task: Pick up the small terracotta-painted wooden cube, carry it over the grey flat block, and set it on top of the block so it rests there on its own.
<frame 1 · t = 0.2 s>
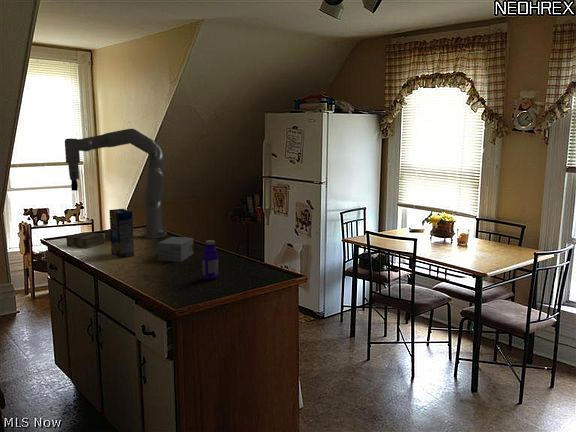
hand: (74, 189, 304), 31 cm above the table, tool pointing down, fingers open, 9 cm apart
terracotta cube: (112, 239, 314), on the table
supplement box: (176, 257, 274), on the table
bottle: (210, 279, 236), on the table
juice carton: (122, 255, 277), on the table
grey flat block: (85, 245, 299), on the table
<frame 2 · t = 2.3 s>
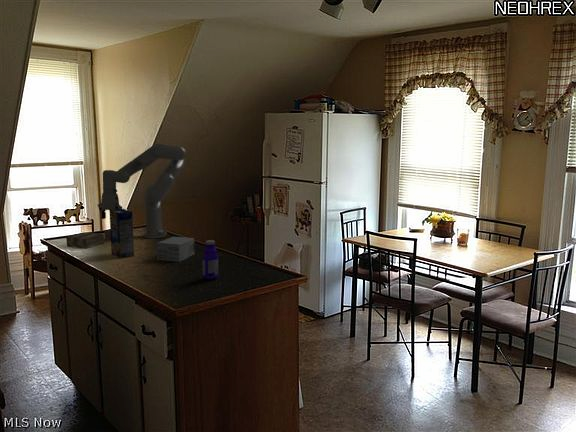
hand: (110, 219, 312), 12 cm above the table, tool pointing down, fingers open, 9 cm apart
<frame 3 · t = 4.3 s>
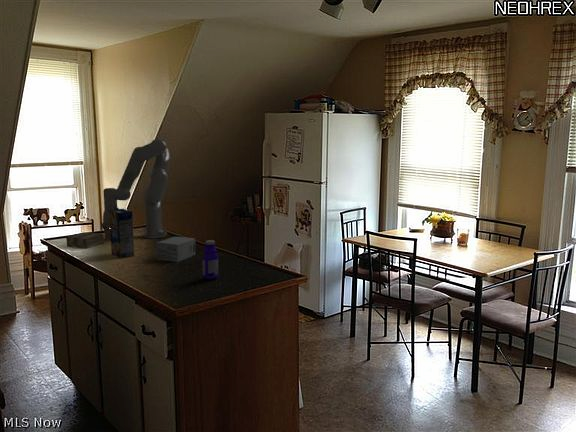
hand: (112, 238, 314), 1 cm above the table, tool pointing down, fingers closed on terracotta cube, 6 cm apart
terracotta cube: (112, 239, 314), on the table, touching gripper
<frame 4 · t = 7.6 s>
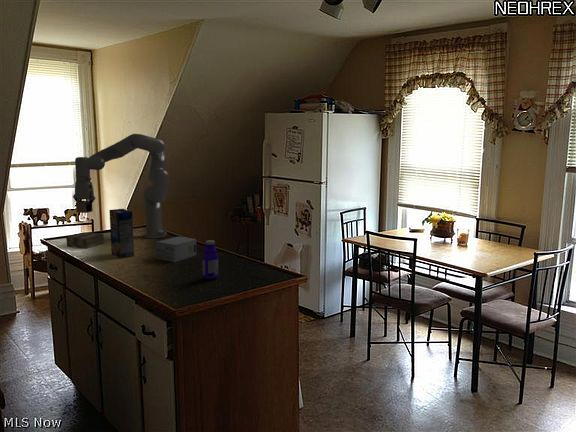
hand: (84, 210, 297), 20 cm above the table, tool pointing down, fingers closed on terracotta cube, 6 cm apart
terracotta cube: (84, 211, 297), point 19 cm above the table, touching gripper
when the fingers open (8 cm above the table, at t = 11.1 s): terracotta cube drops 1 cm, point 6 cm above the table.
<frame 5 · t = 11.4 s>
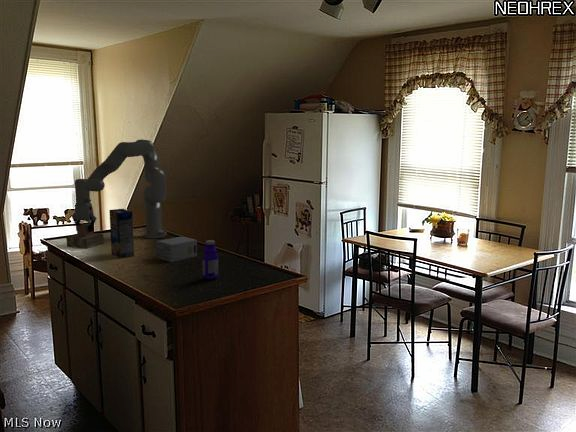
hand: (84, 230, 298), 8 cm above the table, tool pointing down, fingers open, 8 cm apart
terracotta cube: (85, 235, 298), point 6 cm above the table
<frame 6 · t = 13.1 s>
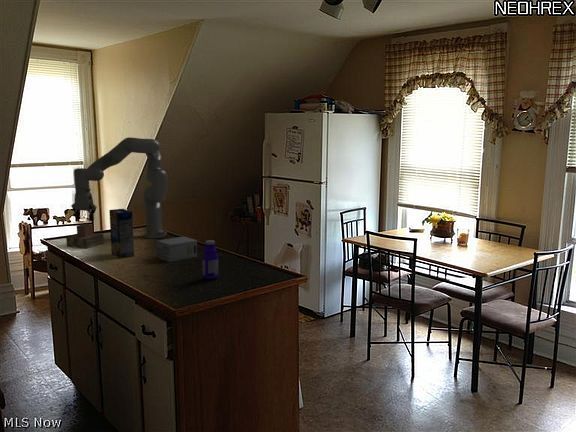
hand: (84, 220, 297), 14 cm above the table, tool pointing down, fingers open, 9 cm apart
terracotta cube: (85, 235, 298), point 6 cm above the table, touching grey flat block
grey flat block: (85, 245, 299), on the table, touching terracotta cube
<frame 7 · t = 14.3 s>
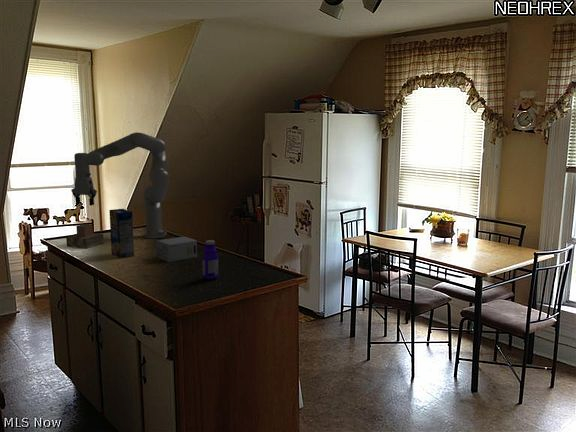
hand: (85, 204, 298), 23 cm above the table, tool pointing down, fingers open, 9 cm apart
terracotta cube: (84, 235, 298), point 6 cm above the table
grey flat block: (85, 245, 299), on the table
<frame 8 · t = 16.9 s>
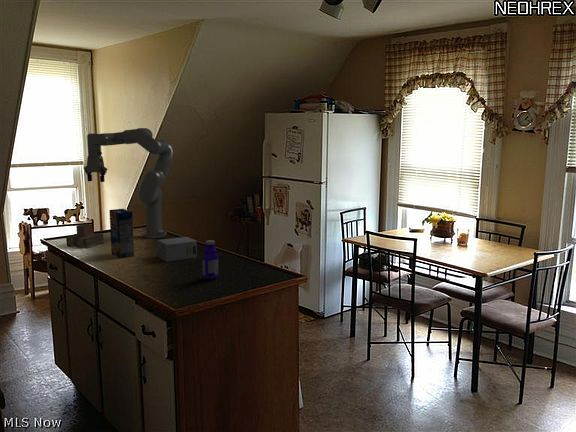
hand: (96, 181, 323), 33 cm above the table, tool pointing down, fingers open, 9 cm apart
at the end: terracotta cube inside the target area on the grey flat block (0.3 cm from its centre), point 6.0 cm above the grey flat block's base; terracotta cube tilted 0°; the gripper is holding nothing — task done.
